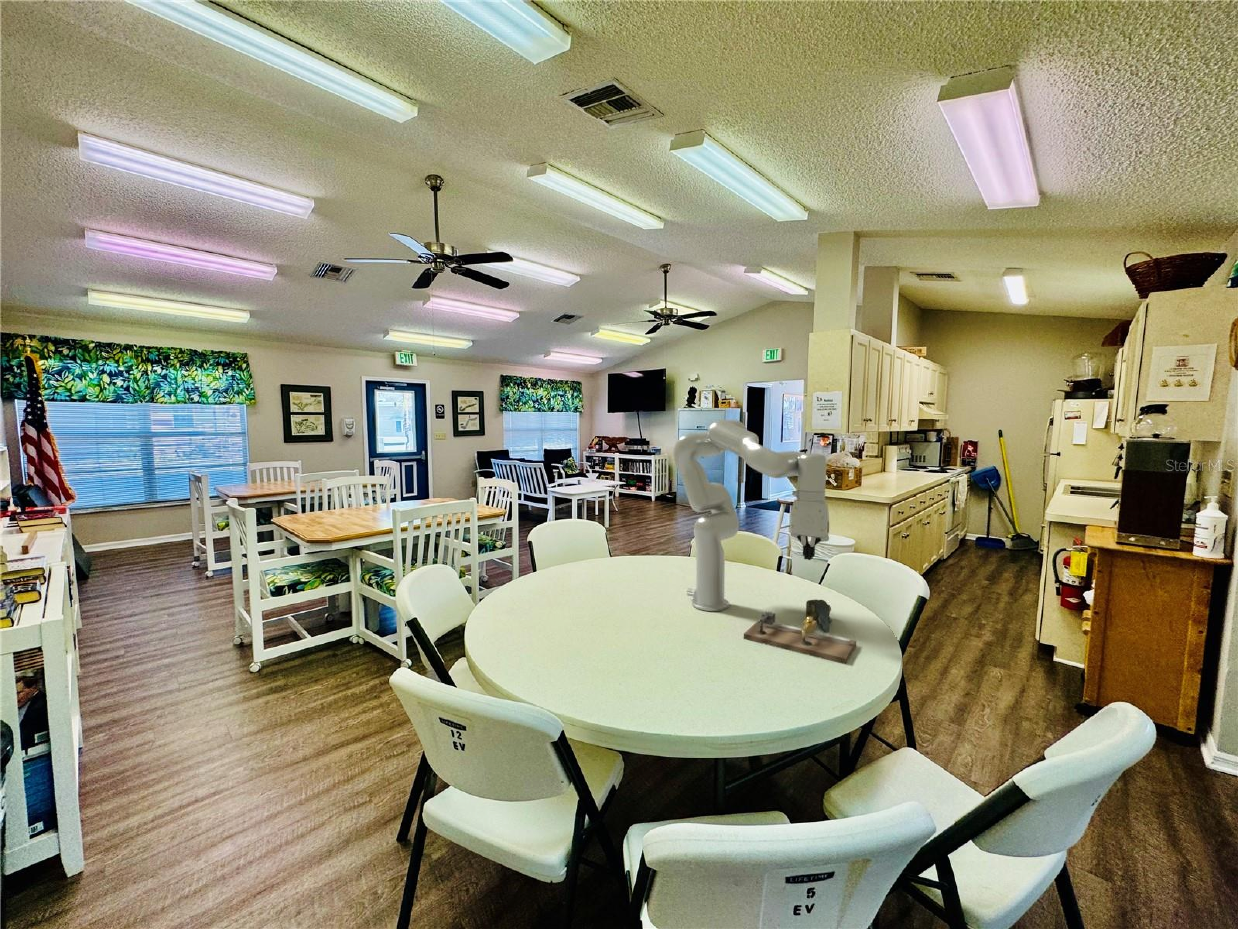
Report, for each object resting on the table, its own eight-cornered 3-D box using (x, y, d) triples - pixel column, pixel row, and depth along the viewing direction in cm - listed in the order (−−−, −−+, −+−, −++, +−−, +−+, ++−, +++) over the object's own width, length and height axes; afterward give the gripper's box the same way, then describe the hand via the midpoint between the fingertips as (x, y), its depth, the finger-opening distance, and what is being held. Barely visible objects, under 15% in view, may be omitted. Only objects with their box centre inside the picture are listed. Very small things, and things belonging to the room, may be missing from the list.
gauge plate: (743, 638, 151) (743, 621, 150) (759, 624, 161) (759, 607, 161) (845, 664, 134) (846, 644, 134) (856, 646, 145) (856, 628, 145)
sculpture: (837, 633, 154) (837, 610, 153) (814, 632, 155) (815, 609, 154) (825, 617, 167) (825, 596, 167) (804, 616, 168) (805, 595, 167)
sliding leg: (797, 639, 145) (797, 623, 144) (805, 630, 151) (806, 614, 151) (808, 642, 143) (808, 626, 142) (816, 632, 149) (816, 617, 149)
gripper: (780, 495, 149) (778, 557, 151) (835, 500, 141) (832, 566, 142) (789, 492, 155) (786, 551, 157) (841, 497, 147) (838, 560, 149)
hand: (808, 558), depth 150 cm, fingers closed
